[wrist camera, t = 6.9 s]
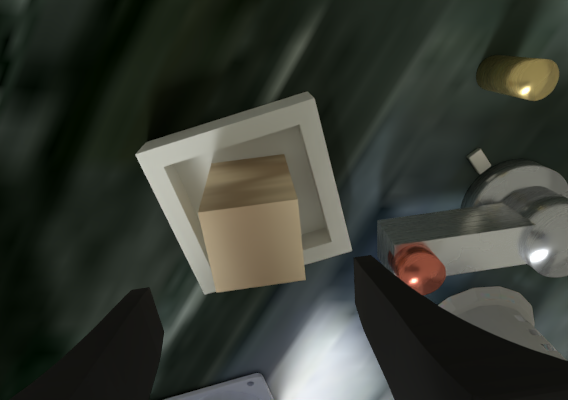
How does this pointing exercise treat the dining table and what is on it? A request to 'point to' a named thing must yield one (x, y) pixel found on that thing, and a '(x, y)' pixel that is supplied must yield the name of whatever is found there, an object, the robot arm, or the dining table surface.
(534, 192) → the crank
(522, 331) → the french press
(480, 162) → the crank base
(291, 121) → the tray
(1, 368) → the dining table surface
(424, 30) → the dining table surface
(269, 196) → the block
